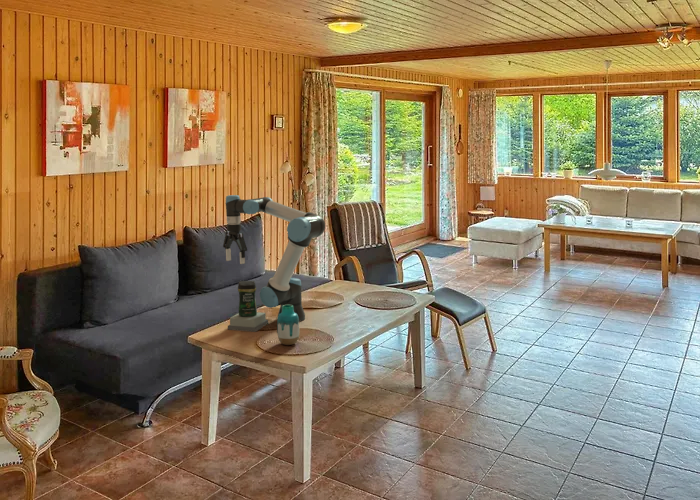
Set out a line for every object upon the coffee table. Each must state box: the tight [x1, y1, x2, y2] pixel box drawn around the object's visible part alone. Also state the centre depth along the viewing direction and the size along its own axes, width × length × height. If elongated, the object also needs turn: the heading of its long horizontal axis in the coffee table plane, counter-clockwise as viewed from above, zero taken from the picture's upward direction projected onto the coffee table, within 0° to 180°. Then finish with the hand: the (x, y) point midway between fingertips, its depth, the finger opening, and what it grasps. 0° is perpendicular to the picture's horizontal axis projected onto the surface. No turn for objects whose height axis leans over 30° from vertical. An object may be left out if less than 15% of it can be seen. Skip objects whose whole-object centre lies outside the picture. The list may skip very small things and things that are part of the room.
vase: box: [276, 304, 300, 346], centre depth 310 cm, size 11×11×19 cm
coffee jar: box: [237, 280, 258, 317], centre depth 339 cm, size 10×8×19 cm
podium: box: [227, 311, 269, 333], centre depth 341 cm, size 16×16×6 cm
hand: (235, 262), depth 353 cm, fingers open, 13 cm apart
